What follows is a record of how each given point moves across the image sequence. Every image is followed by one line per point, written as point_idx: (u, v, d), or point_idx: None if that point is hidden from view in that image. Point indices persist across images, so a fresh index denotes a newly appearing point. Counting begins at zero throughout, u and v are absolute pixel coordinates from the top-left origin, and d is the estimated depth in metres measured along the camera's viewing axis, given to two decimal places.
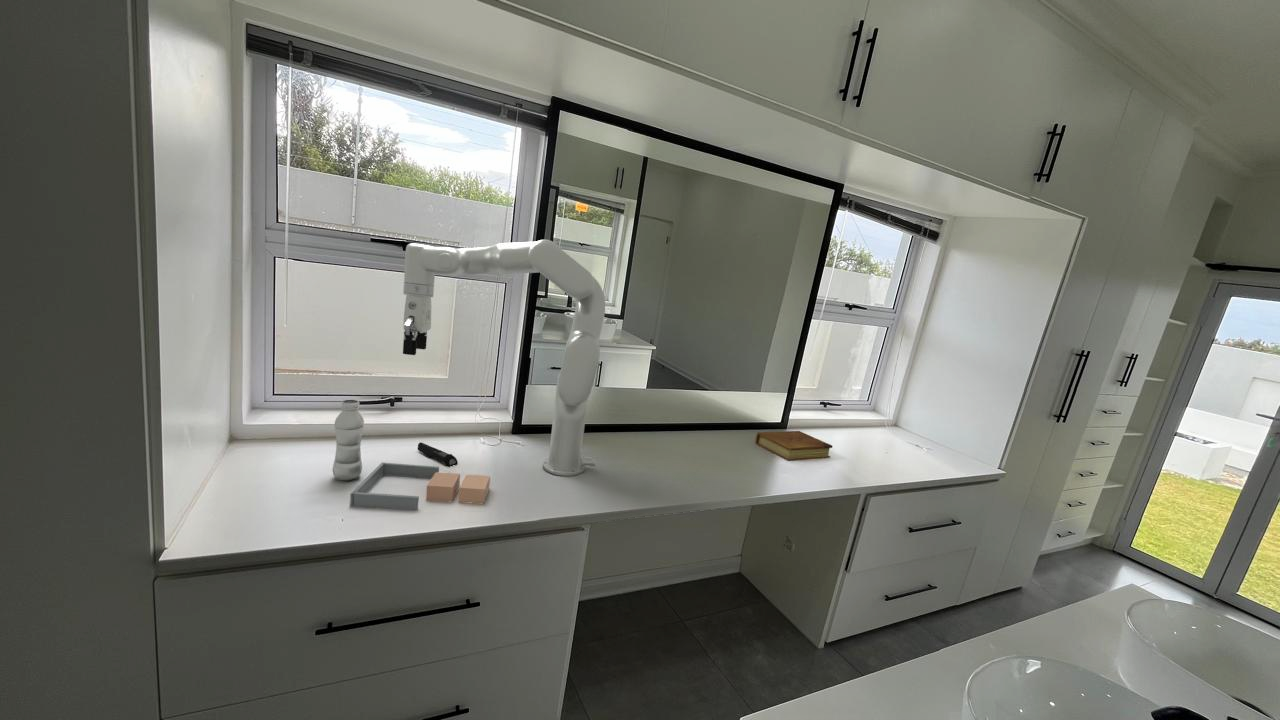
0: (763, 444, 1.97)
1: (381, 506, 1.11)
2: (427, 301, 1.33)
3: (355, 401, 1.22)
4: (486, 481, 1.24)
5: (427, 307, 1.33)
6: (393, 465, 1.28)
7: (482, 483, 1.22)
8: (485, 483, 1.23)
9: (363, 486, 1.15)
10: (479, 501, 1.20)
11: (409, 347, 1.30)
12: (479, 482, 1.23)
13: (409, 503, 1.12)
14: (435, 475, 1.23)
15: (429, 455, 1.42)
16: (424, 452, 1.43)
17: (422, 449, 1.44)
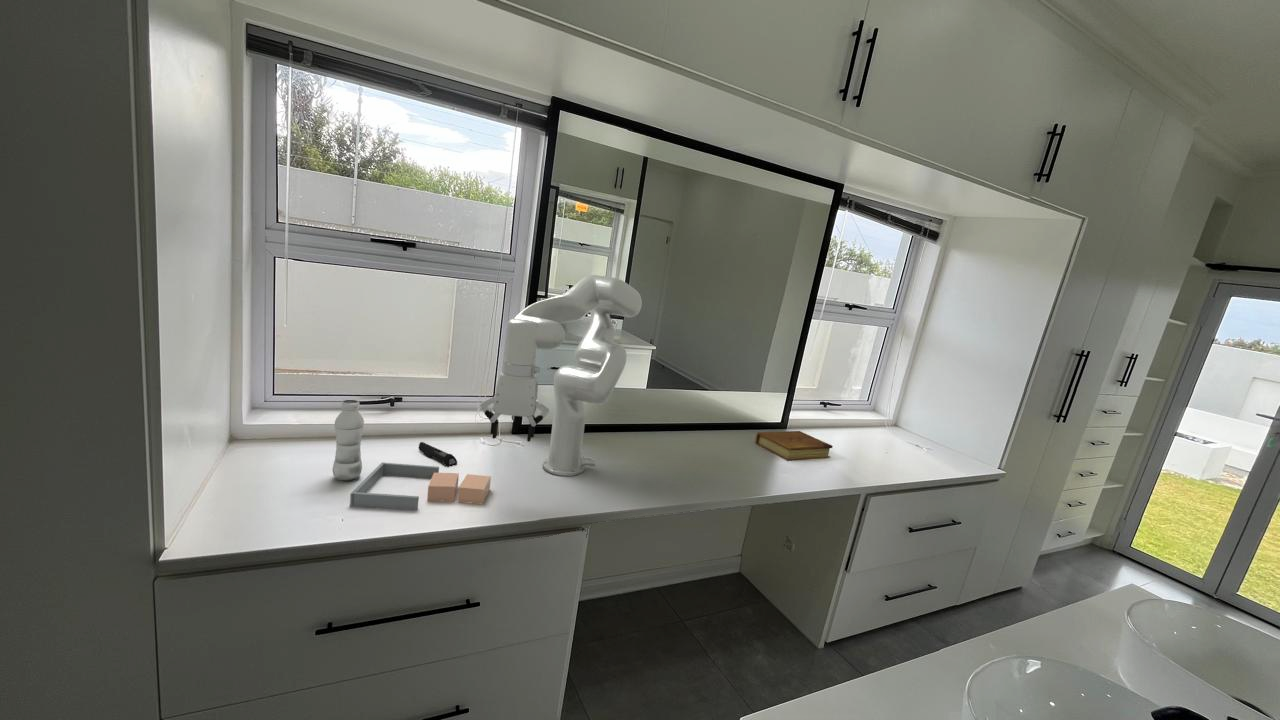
0: (763, 444, 1.97)
1: (381, 506, 1.11)
2: None
3: (355, 401, 1.22)
4: (486, 481, 1.24)
5: None
6: (393, 465, 1.28)
7: (481, 483, 1.22)
8: (485, 483, 1.22)
9: (363, 486, 1.15)
10: (478, 501, 1.20)
11: (533, 432, 1.23)
12: (479, 482, 1.23)
13: (409, 503, 1.12)
14: (434, 475, 1.23)
15: (429, 455, 1.42)
16: (425, 452, 1.43)
17: (422, 448, 1.44)
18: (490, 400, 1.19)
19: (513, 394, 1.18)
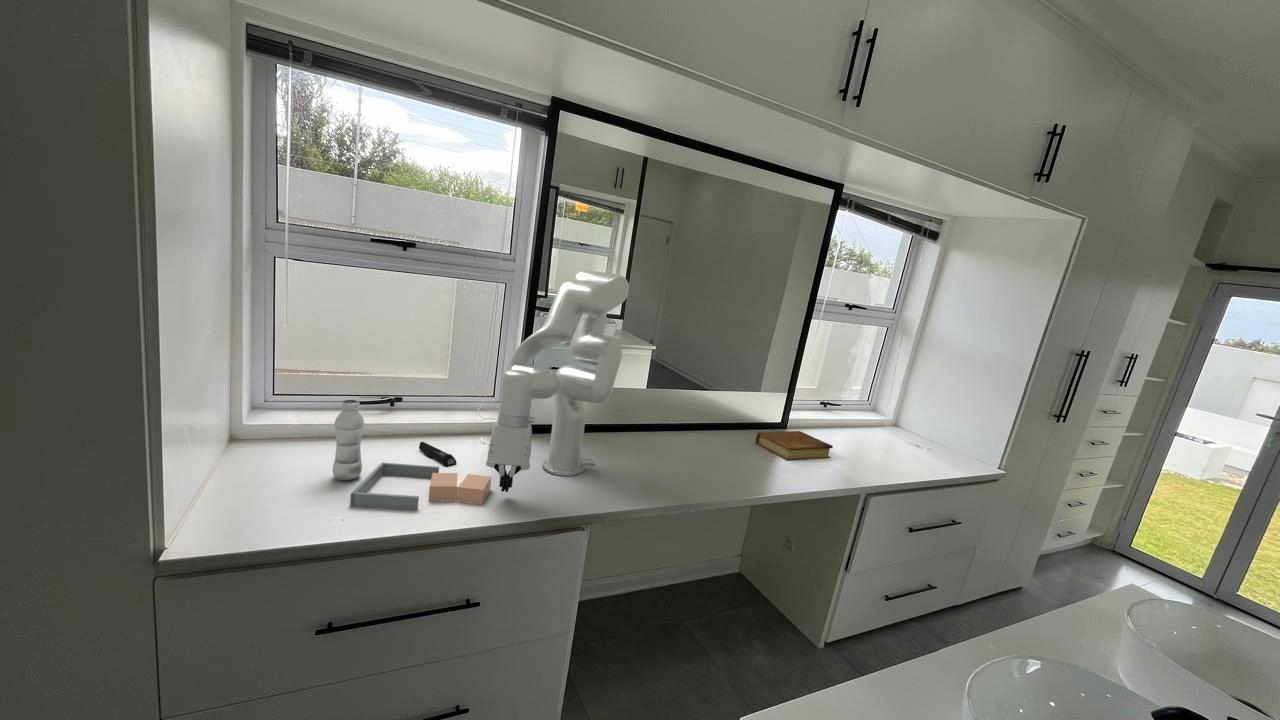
0: (763, 444, 1.97)
1: (381, 506, 1.11)
2: None
3: (355, 401, 1.22)
4: (486, 481, 1.23)
5: None
6: (393, 465, 1.28)
7: (481, 483, 1.22)
8: (485, 483, 1.22)
9: (363, 486, 1.15)
10: (477, 501, 1.19)
11: None
12: (479, 482, 1.23)
13: (409, 503, 1.12)
14: (433, 476, 1.23)
15: (429, 454, 1.42)
16: (425, 451, 1.44)
17: (423, 448, 1.45)
18: None
19: (508, 444, 1.19)
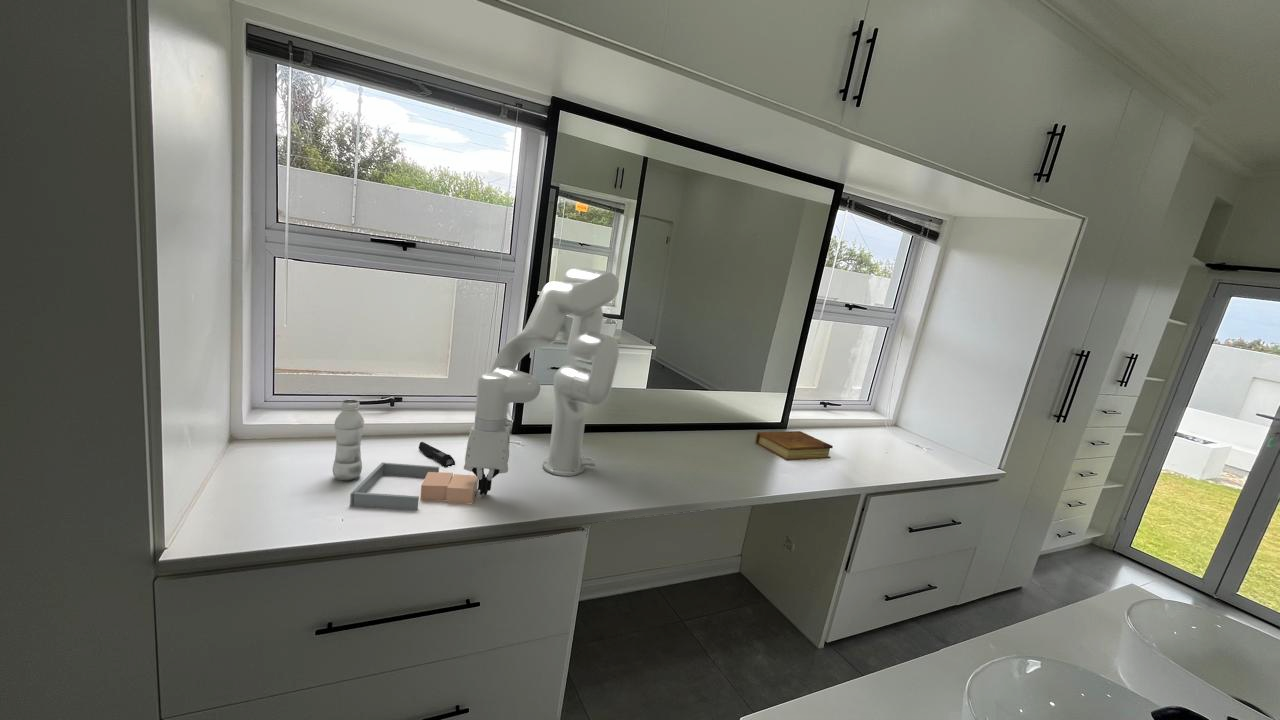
0: (763, 444, 1.97)
1: (381, 506, 1.11)
2: None
3: (355, 401, 1.22)
4: (474, 481, 1.23)
5: None
6: (393, 465, 1.28)
7: (470, 483, 1.21)
8: (473, 483, 1.22)
9: (363, 486, 1.15)
10: (467, 501, 1.19)
11: (490, 485, 1.24)
12: (467, 481, 1.22)
13: (409, 503, 1.12)
14: (428, 475, 1.23)
15: (428, 455, 1.42)
16: (424, 452, 1.43)
17: (422, 448, 1.45)
18: None
19: (485, 448, 1.19)
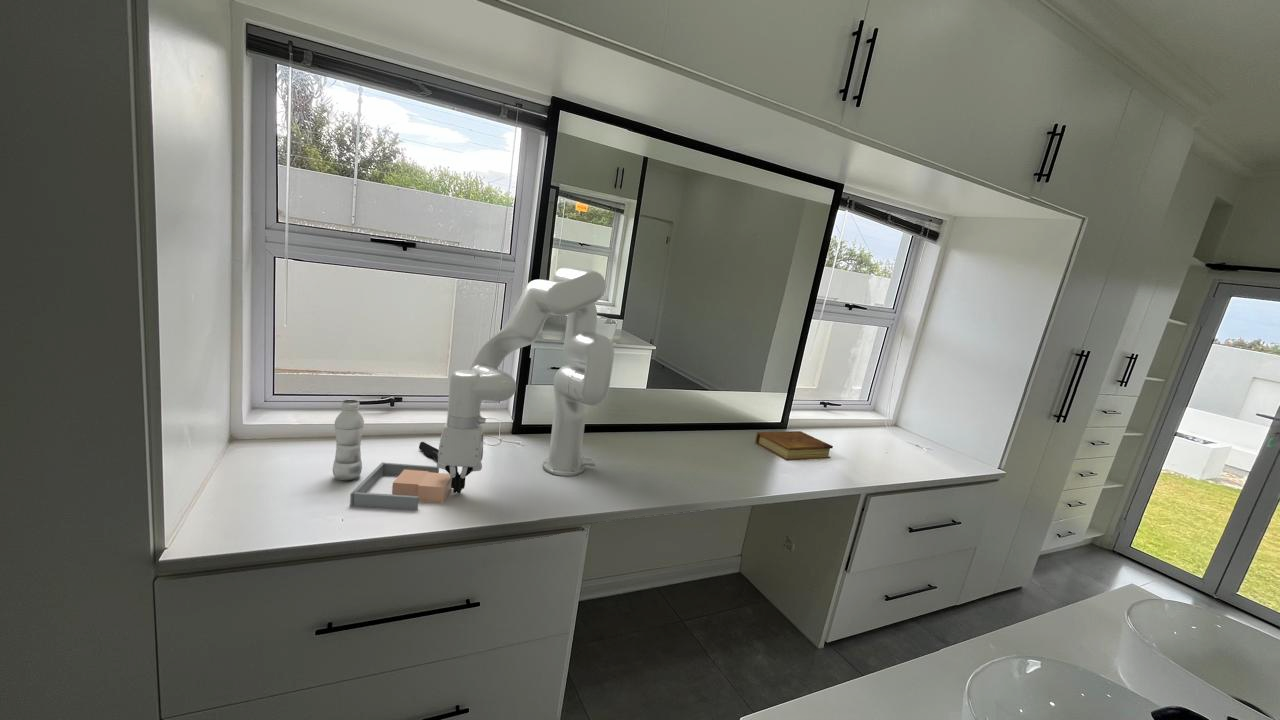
0: (763, 444, 1.97)
1: (381, 506, 1.11)
2: None
3: (355, 401, 1.22)
4: (447, 479, 1.22)
5: None
6: (393, 465, 1.28)
7: (442, 481, 1.20)
8: (446, 481, 1.20)
9: (363, 486, 1.15)
10: (439, 499, 1.18)
11: (464, 483, 1.23)
12: (440, 480, 1.21)
13: (409, 503, 1.12)
14: (403, 472, 1.22)
15: (428, 454, 1.42)
16: (424, 451, 1.44)
17: (422, 448, 1.45)
18: None
19: (457, 445, 1.18)
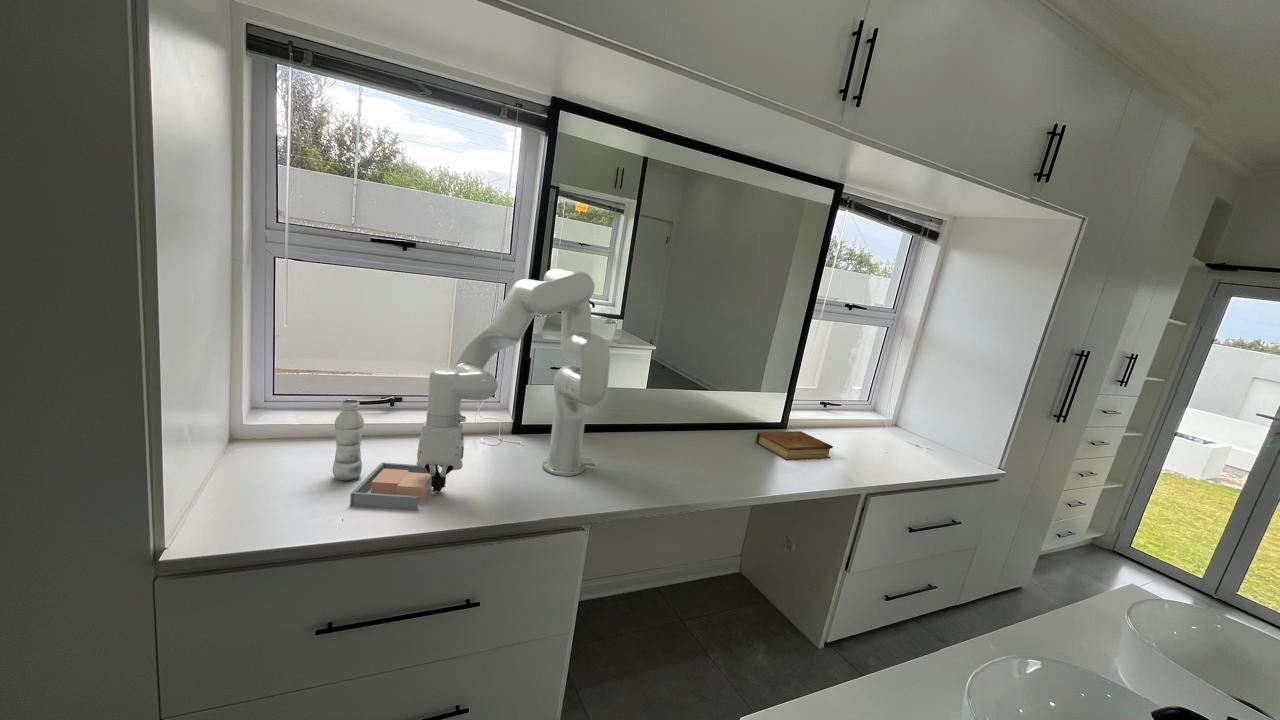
0: (763, 444, 1.97)
1: (381, 506, 1.11)
2: None
3: (355, 401, 1.22)
4: (427, 479, 1.20)
5: None
6: (393, 465, 1.28)
7: (422, 481, 1.19)
8: (425, 481, 1.19)
9: (363, 486, 1.15)
10: None
11: (444, 481, 1.22)
12: (419, 480, 1.19)
13: (409, 503, 1.12)
14: (382, 471, 1.21)
15: None
16: None
17: None
18: None
19: (437, 444, 1.17)
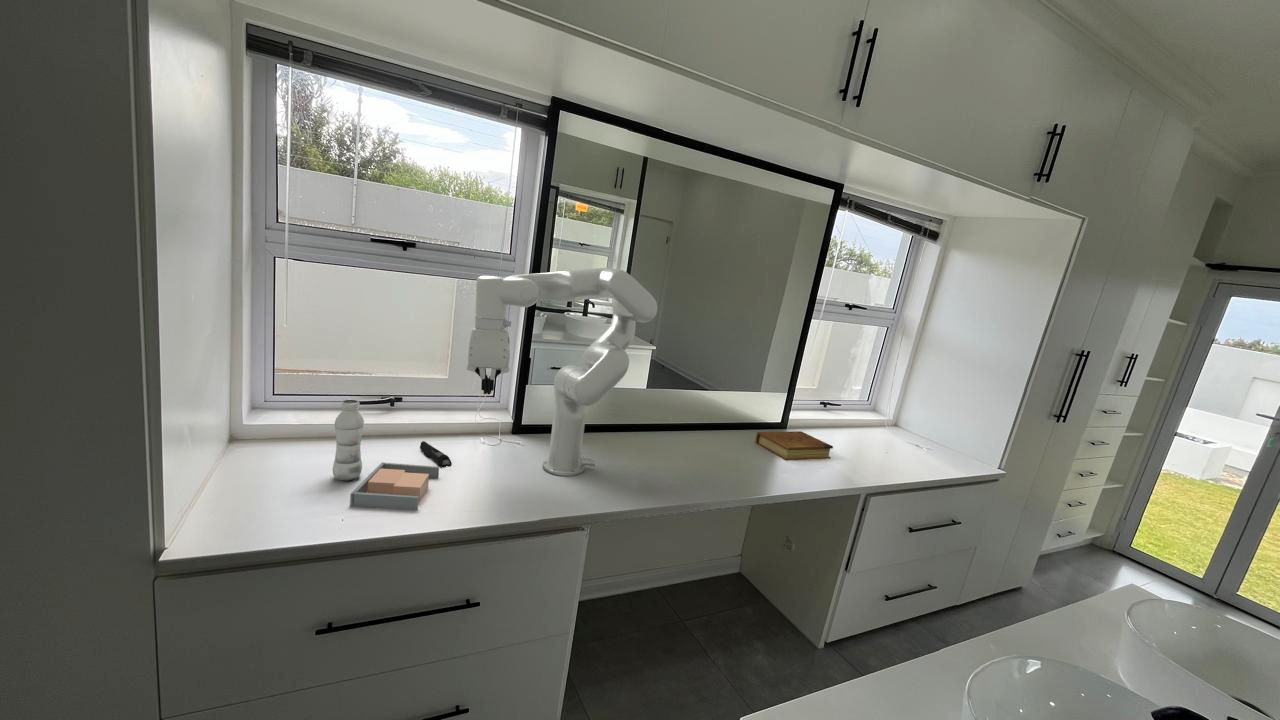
0: (763, 443, 1.97)
1: (381, 506, 1.11)
2: None
3: (355, 401, 1.22)
4: (423, 479, 1.20)
5: None
6: (393, 465, 1.28)
7: (418, 481, 1.19)
8: (422, 481, 1.19)
9: (363, 486, 1.15)
10: None
11: (493, 385, 1.29)
12: (416, 480, 1.19)
13: (409, 503, 1.12)
14: (379, 471, 1.21)
15: (427, 454, 1.42)
16: (424, 451, 1.44)
17: (422, 447, 1.45)
18: None
19: (486, 347, 1.25)
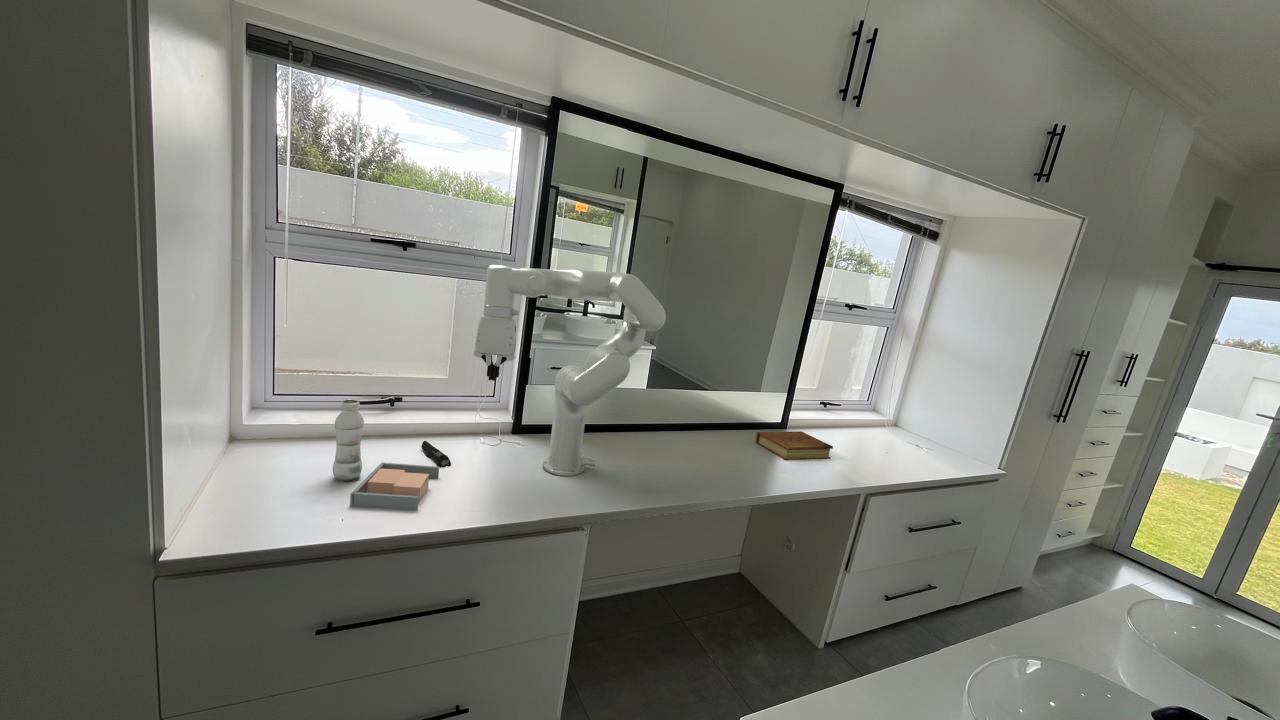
0: (763, 443, 1.97)
1: (381, 506, 1.11)
2: None
3: (355, 401, 1.22)
4: (423, 479, 1.20)
5: None
6: (393, 465, 1.28)
7: (418, 481, 1.19)
8: (422, 481, 1.19)
9: (363, 486, 1.15)
10: None
11: (498, 372, 1.33)
12: (416, 480, 1.19)
13: (409, 503, 1.12)
14: (379, 471, 1.21)
15: (427, 454, 1.42)
16: (425, 451, 1.44)
17: (424, 447, 1.45)
18: None
19: (493, 334, 1.28)
